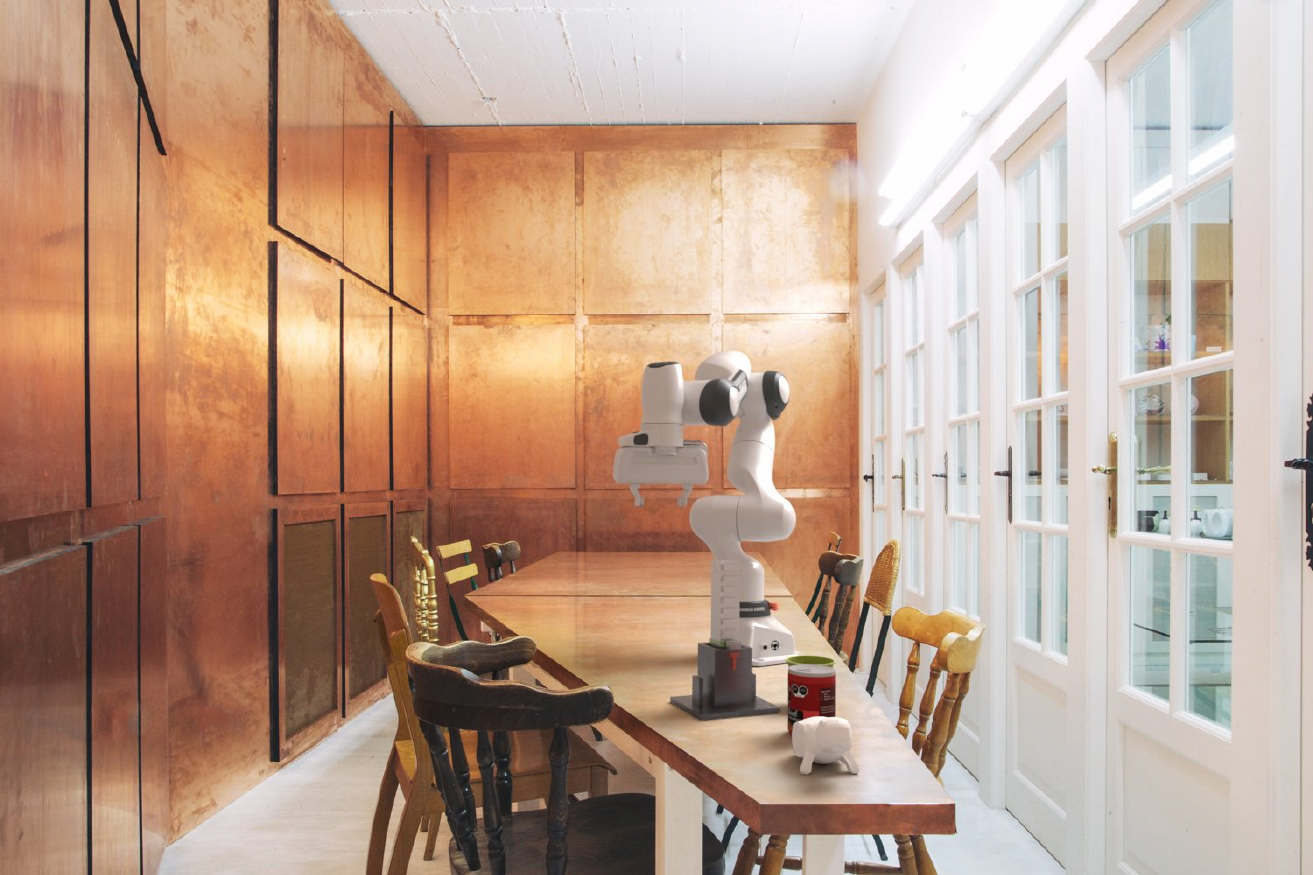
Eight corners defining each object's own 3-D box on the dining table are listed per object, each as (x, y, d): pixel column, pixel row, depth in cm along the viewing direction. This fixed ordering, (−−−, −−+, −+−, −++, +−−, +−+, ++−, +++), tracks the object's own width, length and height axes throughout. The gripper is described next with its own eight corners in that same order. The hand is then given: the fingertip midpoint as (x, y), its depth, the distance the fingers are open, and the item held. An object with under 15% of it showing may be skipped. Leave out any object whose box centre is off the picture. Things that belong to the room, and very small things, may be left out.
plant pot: (780, 708, 167) (780, 661, 167) (791, 697, 175) (791, 653, 176) (830, 714, 163) (830, 666, 164) (839, 702, 172) (839, 657, 172)
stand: (744, 695, 176) (745, 629, 177) (780, 712, 163) (780, 641, 164) (670, 701, 171) (671, 633, 171) (700, 720, 158) (701, 646, 158)
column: (729, 665, 170) (730, 560, 171) (741, 670, 166) (741, 562, 167) (709, 666, 169) (710, 560, 170) (720, 671, 164) (721, 562, 165)
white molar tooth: (788, 778, 137) (812, 770, 123) (784, 720, 140) (807, 707, 127) (843, 777, 137) (873, 769, 124) (837, 720, 141) (865, 706, 127)
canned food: (784, 727, 154) (785, 663, 154) (831, 728, 153) (831, 664, 154) (790, 740, 146) (790, 672, 147) (839, 741, 146) (839, 673, 146)
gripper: (701, 440, 191) (700, 505, 190) (610, 438, 183) (609, 505, 182) (714, 439, 185) (713, 506, 184) (621, 436, 177) (620, 506, 177)
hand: (661, 506), depth 183 cm, fingers open, 8 cm apart
